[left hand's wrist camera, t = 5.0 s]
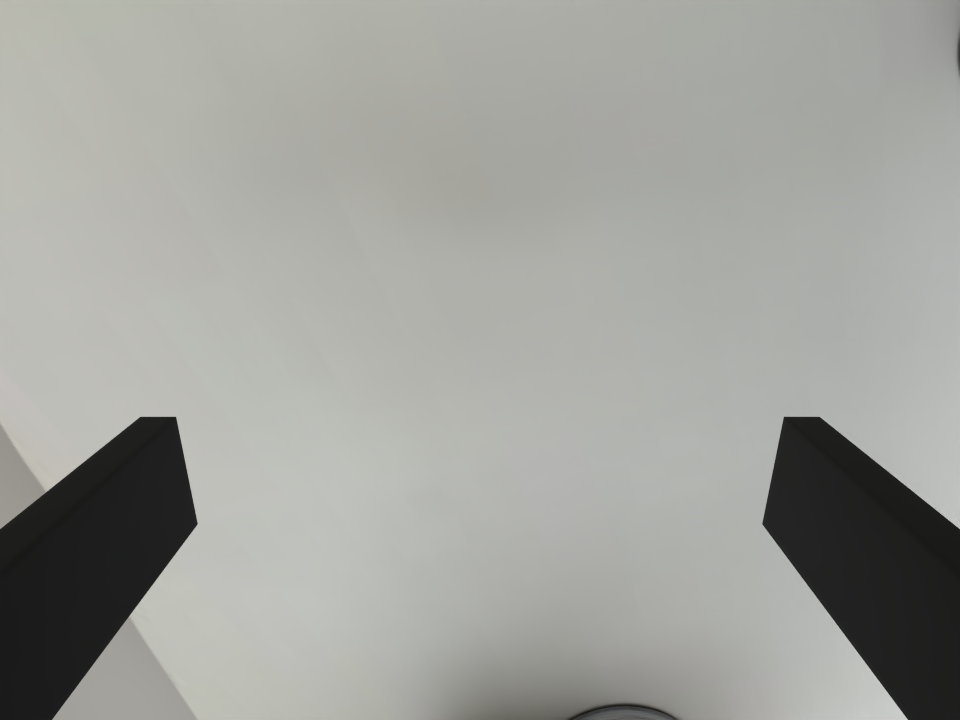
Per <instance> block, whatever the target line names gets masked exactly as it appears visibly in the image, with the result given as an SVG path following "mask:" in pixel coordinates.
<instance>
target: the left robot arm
mask: <svg viewBox="0 0 960 720" xmlns="http://www.w3.org/2000/svg"><path fill="white" fill-rule="evenodd" d="M196 526H197V519H196V514H195V509H194V504H193V499H192V494H191V489H190V484H189V479H188V474H187V469H186V464H185V459H184V454H183V449H182V444H181V439H180V434H179V429H178V424H177V419H176V417H140V418H139V419H137V420H136V421H135V422H134V423H132V424H131V425H130V426H129V427H127V428H126V429H125V430H124V431H122V432H121V433H120V434H119V435H117V436H116V437H115V438H114V439H112V440H111V441H110V442H109V443H107V444H106V445H105V446H104V447H102V448H101V449H100V450H99V451H97V452H96V453H95V454H94V455H92V456H91V457H90V458H89V459H87V460H86V461H85V462H84V463H82V464H81V465H80V466H79V467H77V468H76V469H75V470H74V471H72V472H71V473H70V474H69V475H67V476H66V477H65V478H64V479H62V480H61V481H60V482H59V483H57V484H56V485H55V486H54V487H52V488H51V489H50V490H49V491H47V492H46V493H45V494H44V495H42V496H41V497H40V498H39V499H37V500H36V501H35V502H34V503H33V504H31V505H30V506H29V507H27V508H26V509H25V510H24V511H22V512H21V513H20V514H19V515H17V516H16V517H15V518H14V519H12V520H11V521H10V522H9V523H7V524H6V525H5V526H4V527H2V528H1V529H0V720H52V719H53V718H54V716H55V715H56V714H57V712H58V711H59V710H60V708H61V707H62V706H63V704H64V703H65V701H66V700H67V699H68V697H69V696H70V695H71V693H72V692H73V691H74V689H75V688H76V687H77V685H78V684H79V683H80V681H81V680H82V679H83V677H84V676H85V675H86V673H87V672H88V671H89V669H90V668H91V667H92V665H93V664H94V663H95V661H96V660H97V658H98V657H99V656H100V654H101V653H102V652H103V650H104V649H105V648H106V646H107V645H108V644H109V642H110V641H111V640H112V638H113V637H114V636H115V634H116V633H117V632H118V630H119V629H120V628H121V626H122V625H123V624H124V622H125V621H126V620H127V618H128V617H129V616H130V614H131V613H132V612H133V610H134V609H135V608H136V606H137V605H138V603H139V602H140V601H141V599H142V598H143V597H144V595H145V594H146V593H147V591H148V590H149V589H150V587H151V586H152V585H153V583H154V582H155V581H156V579H157V578H158V577H159V575H160V574H161V573H162V571H163V570H164V569H165V567H166V566H167V565H168V563H169V562H170V561H171V559H172V558H173V556H174V555H175V554H176V552H177V551H178V550H179V548H180V547H181V546H182V544H183V543H184V542H185V540H186V539H187V538H188V536H189V535H190V534H191V532H192V531H193V530H194V528H195V527H196ZM763 526H764V527H765V528H766V530H767V531H768V532H769V534H770V535H771V536H772V538H773V539H774V540H775V542H776V543H777V544H778V546H779V547H780V548H781V550H782V551H783V552H784V554H785V555H786V556H787V558H788V559H789V561H790V562H791V563H792V565H793V566H794V567H795V569H796V570H797V571H798V573H799V574H800V575H801V577H802V578H803V579H804V581H805V582H806V583H807V585H808V586H809V587H810V589H811V590H812V591H813V593H814V594H815V595H816V597H817V598H818V599H819V601H820V602H821V603H822V605H823V606H824V608H825V609H826V610H827V612H828V613H829V614H830V616H831V617H832V618H833V620H834V621H835V622H836V624H837V625H838V626H839V628H840V629H841V630H842V632H843V633H844V634H845V636H846V637H847V638H848V640H849V641H850V642H851V644H852V645H853V646H854V648H855V649H856V650H857V652H858V653H859V654H860V656H861V657H862V659H863V660H864V661H865V663H866V664H867V665H868V667H869V668H870V669H871V671H872V672H873V673H874V675H875V676H876V677H877V679H878V680H879V681H880V683H881V684H882V685H883V687H884V688H885V689H886V691H887V692H888V693H889V695H890V696H891V697H892V699H893V700H894V701H895V703H896V704H897V706H898V707H899V708H900V710H901V711H902V712H903V714H904V715H905V716H906V718H907V719H908V720H960V529H959V528H958V527H956V526H955V525H954V524H953V523H951V522H950V521H949V520H948V519H946V518H945V517H944V516H943V515H941V514H940V513H939V512H938V511H936V510H935V509H934V508H933V507H931V506H930V505H929V504H928V503H926V502H925V501H924V500H923V499H921V498H920V497H919V496H918V495H916V494H915V493H914V492H913V491H911V490H910V489H909V488H908V487H906V486H905V485H904V484H903V483H901V482H900V481H899V480H898V479H896V478H895V477H894V476H893V475H891V474H890V473H889V472H888V471H886V470H885V469H884V468H883V467H881V466H880V465H879V464H878V463H876V462H875V461H874V460H873V459H871V458H870V457H869V456H868V455H866V454H865V453H864V452H863V451H861V450H860V449H859V448H858V447H856V446H855V445H854V444H853V443H851V442H850V441H849V440H848V439H846V438H845V437H844V436H843V435H841V434H840V433H839V432H838V431H836V430H835V429H834V428H833V427H831V426H830V425H829V424H828V423H826V422H825V421H824V420H823V419H821V418H820V417H784V419H783V424H782V429H781V434H780V439H779V444H778V449H777V454H776V459H775V464H774V469H773V474H772V479H771V484H770V489H769V494H768V499H767V504H766V509H765V514H764V519H763ZM572 720H675V719H673V718H672V717H670V716H668V715H666V714H664V713H661V712H658V711H655V710H651V709H647V708H642V707H633V706H617V707H608V708H603V709H598V710H594V711H591V712H588V713H585V714H583V715H580V716H578V717H576V718H574V719H572Z"/></svg>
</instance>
